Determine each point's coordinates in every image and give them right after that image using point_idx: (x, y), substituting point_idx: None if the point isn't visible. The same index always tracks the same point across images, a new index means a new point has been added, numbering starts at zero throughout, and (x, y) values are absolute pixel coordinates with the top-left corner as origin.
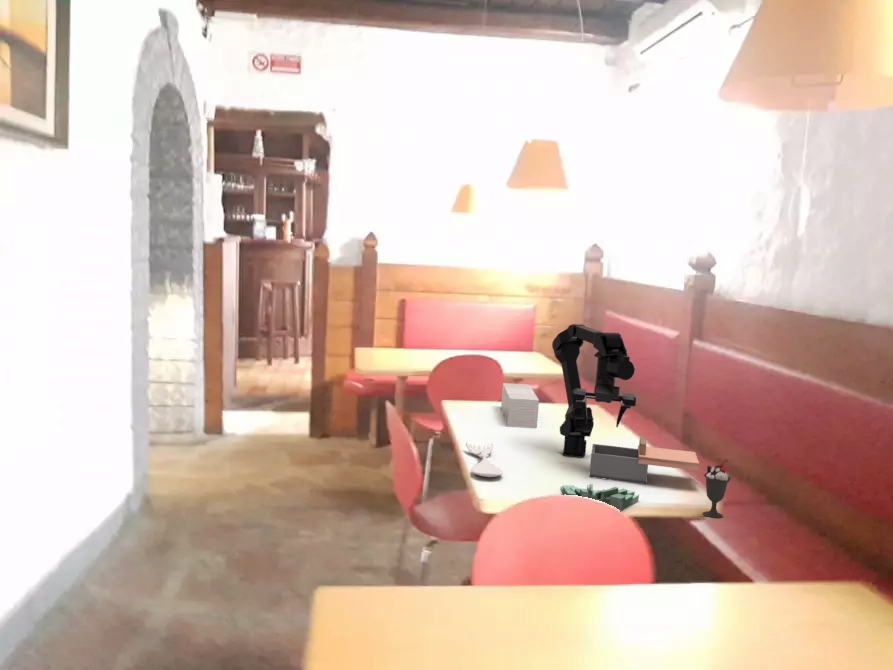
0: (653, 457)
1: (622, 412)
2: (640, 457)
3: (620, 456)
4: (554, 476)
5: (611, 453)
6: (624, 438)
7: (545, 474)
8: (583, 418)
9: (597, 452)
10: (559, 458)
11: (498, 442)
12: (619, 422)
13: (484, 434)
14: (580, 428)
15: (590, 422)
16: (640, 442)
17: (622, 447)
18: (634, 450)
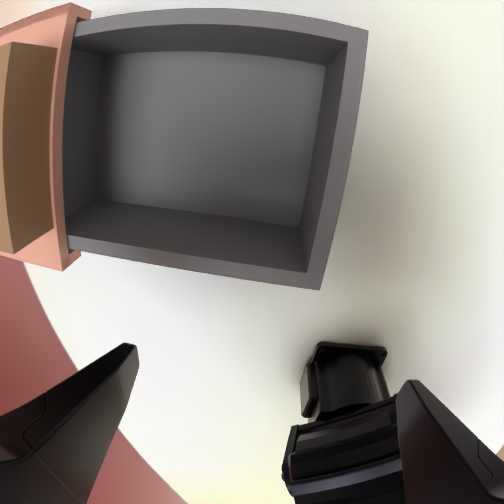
0: (12, 38)
1: (8, 426)
2: (66, 4)
3: (169, 17)
4: (469, 56)
5: (209, 239)
6: (179, 476)
7: (494, 80)
8: (353, 476)
9: (288, 249)
10: (409, 310)
11: (499, 390)
12: (91, 363)
13: (492, 425)
14: (359, 428)
15: (305, 467)
16: (5, 78)
17: (140, 255)
18: (84, 233)
